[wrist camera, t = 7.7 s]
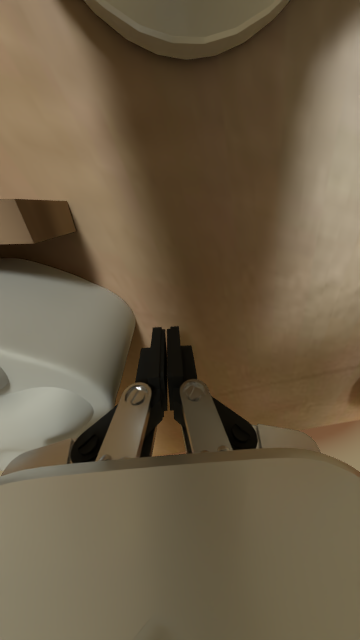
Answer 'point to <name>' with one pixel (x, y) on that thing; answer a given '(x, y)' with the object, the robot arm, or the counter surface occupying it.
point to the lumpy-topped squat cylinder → (56, 355)
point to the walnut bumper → (33, 220)
